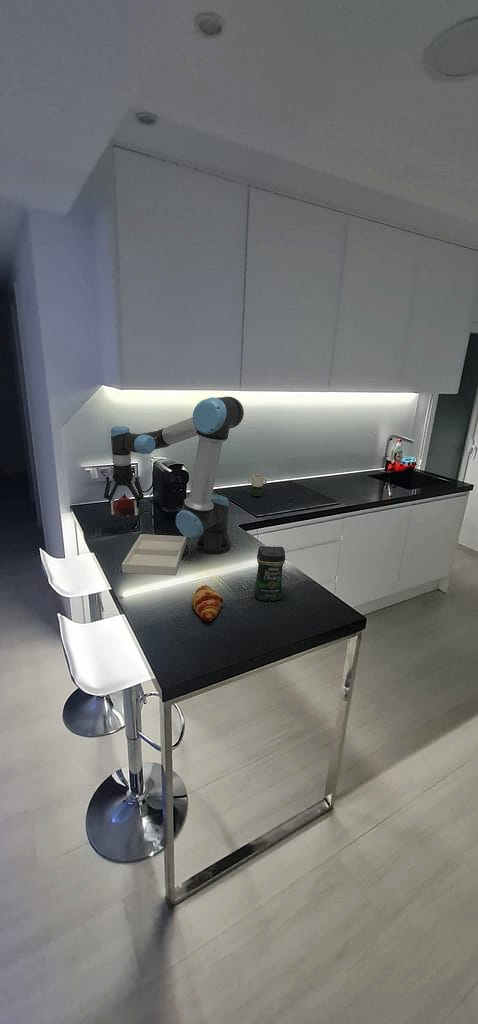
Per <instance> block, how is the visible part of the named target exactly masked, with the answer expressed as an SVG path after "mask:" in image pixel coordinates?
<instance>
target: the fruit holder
mask: <svg viewBox="0 0 478 1024" xmlns="http://www.w3.org/2000/svg"><path fill="white" fill-rule="evenodd" d="M186 546H187V537H186V536H184V535H183V536H181V535H162V534H161V535H160V534H159V535H158V534H145V533H144V534H143V533H142V534H139V536H138V538H137V539H136V541H135V542H134V544H133V546H132V547H131V549H130V550H129V552H128V553H127V555H126V557H125V559H124V560H123V561H122V563H121V572H122V573H125V574H143V575H145V574H147V575H160V576H161V575H163V576H176V575H177V573H178V569H179V567H180V564H181V561H182V558H183V555H184V553H185V549H186Z"/></svg>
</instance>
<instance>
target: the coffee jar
mask: <svg viewBox="0 0 478 1024" xmlns="http://www.w3.org/2000/svg"><path fill="white" fill-rule="evenodd" d="M256 561H257V563H258V564H257V573H256V577H255V582H254V583H255V584H254V590H253V594H254V597H255V598H256V599H257V600H259V601H270V602H271V600H272V601H273V602H274V600H275V601H279V600H280V599H281V598H282V596H283V566H284V564H286V552H285V548H284V546H266V545H265V546H264V545H260V546H259V547H258V549H257V554H256Z"/></svg>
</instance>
